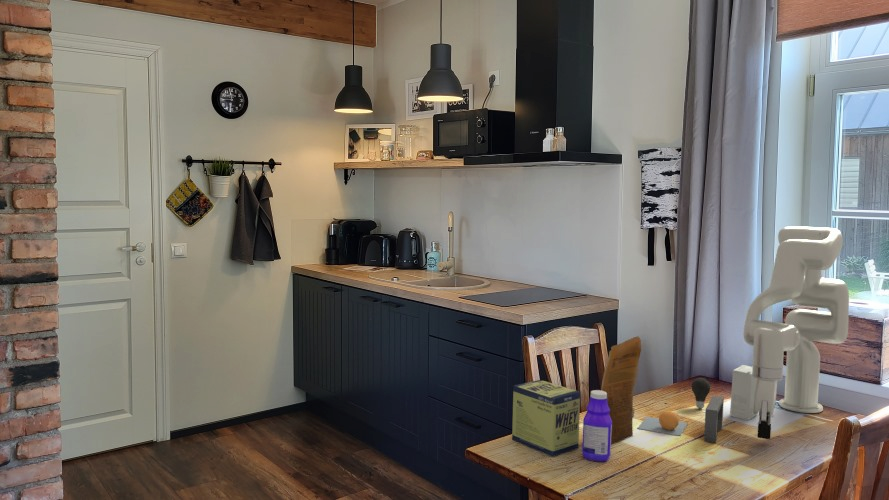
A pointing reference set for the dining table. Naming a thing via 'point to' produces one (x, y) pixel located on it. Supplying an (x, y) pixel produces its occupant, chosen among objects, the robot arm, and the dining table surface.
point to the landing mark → (655, 426)
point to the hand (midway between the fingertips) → (763, 437)
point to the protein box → (546, 417)
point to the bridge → (713, 419)
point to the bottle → (597, 428)
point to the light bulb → (700, 391)
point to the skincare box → (742, 393)
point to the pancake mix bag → (621, 386)
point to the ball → (668, 420)
